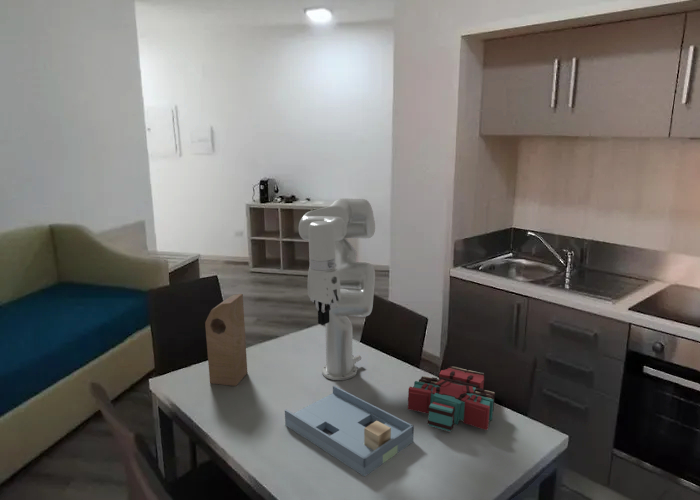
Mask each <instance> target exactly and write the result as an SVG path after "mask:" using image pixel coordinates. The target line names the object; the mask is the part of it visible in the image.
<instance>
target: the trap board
mask: <svg viewBox="0 0 700 500" xmlns="http://www.w3.org/2000/svg"><path fill="white" fill-rule="evenodd" d="M284 421H285V422H284V423H285V426H286V427H287V428H289V429H291V430H292V431H294V432H295V433H296V434H298V435H300V436H301V437H302V438H304V439H306V440H308V441H309V442H310V443H312V444H314V445H315V446H317V447H318V448H320V449H321V450H323V451H324V452H326V453H327V454H329V455H331V456H332V457H334V458H335V459H337V460H339V461H340V462H341V463H343V464H344V465H346V466H348V467H349V468H350V469H352V470H353V471H355V472H357V473H359V474H360V475H361V476H363V477H366V476H367V475H369V474H370V473H371V472H373V471H375V470H376V469H377V468H380V466H382V465H383V464H384V463H385V462H387V461H388V460H391V458H392V457H394V456H395V455H397V454H398V453H400V452H401V451H403V450H404V449H405V448H407V447H408V446H410V444H412V443H414V431H415V430H414V429H415V428H414V425H413V424H412V423H409V422H407V421H405V420H403V419H402V418H399V417H397V416H396V415H394V414H391V413H390V412H388V411H386V410H384V409H381V408H380V407H378V406H375V405H373V404H372V403H370V402H368V401H366V400H364V399H362V398H360V397H357V396H356V395H354V394H352V393H350V392H348V391H346V390H344V389H342V388H340V387H338V386H336V385H333V386H332V393H331V394H329V395H327V396H325V397H322V398H321V399H319V400H317V401H315V402H312V403H311V404H309V405H307V406H306V407H303V408H300V409H298V410H297V411H296V412H292V411H290V410H288V409H284ZM375 421H379V422H381V423H382V424H384V425H386V426H388V427H390V428H391V439H390V440H389V441H387V442H386V443H384V444H383V445H381V446H380V447H379V448H377V449H376V450H373V449H371V448H369V447H367V446H366V445H364V428H366V427H367V426H369V425H370V424H372V423H374V422H375Z"/></svg>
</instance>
